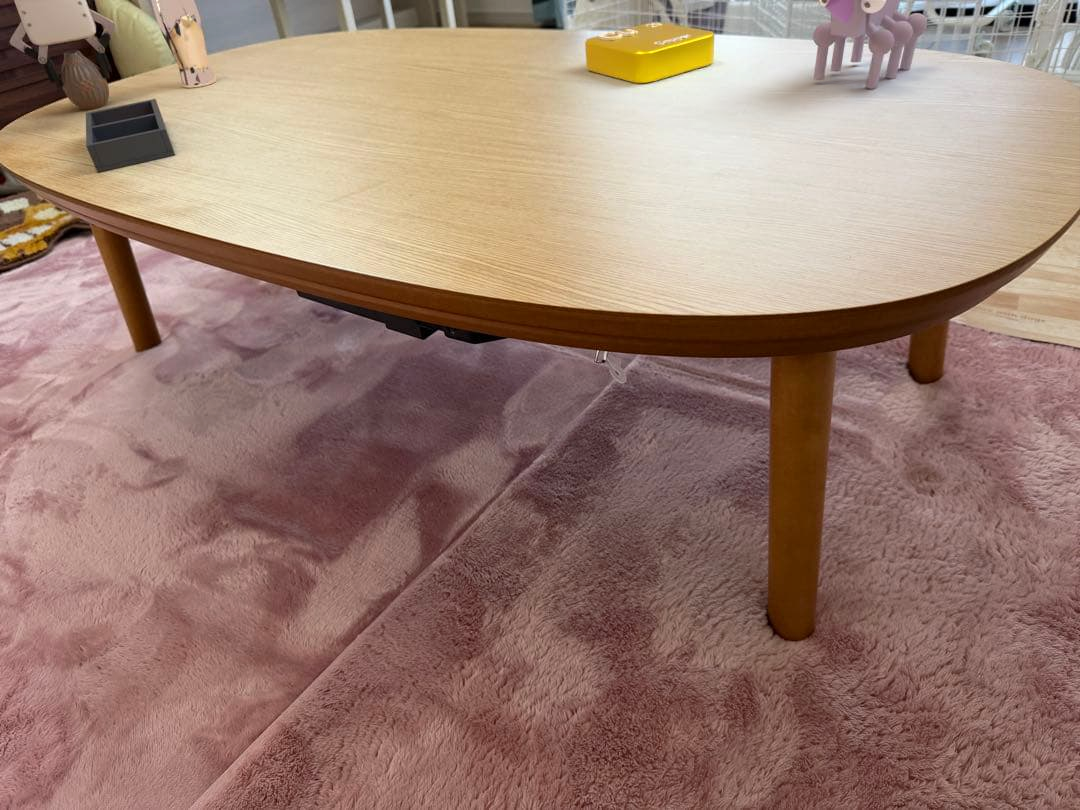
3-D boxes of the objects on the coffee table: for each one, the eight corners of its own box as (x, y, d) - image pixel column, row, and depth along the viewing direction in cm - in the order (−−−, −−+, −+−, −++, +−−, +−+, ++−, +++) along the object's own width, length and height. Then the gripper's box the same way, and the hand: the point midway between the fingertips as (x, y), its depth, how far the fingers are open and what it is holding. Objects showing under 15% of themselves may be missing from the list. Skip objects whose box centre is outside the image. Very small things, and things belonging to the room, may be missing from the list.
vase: (118, 104, 138) (96, 50, 132) (75, 115, 135) (52, 59, 130) (110, 97, 142) (89, 45, 137) (69, 107, 140) (46, 53, 134)
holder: (97, 172, 108) (86, 146, 106) (95, 136, 123) (85, 112, 120) (175, 155, 111) (165, 128, 109) (164, 122, 126) (155, 98, 123)
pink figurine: (852, 109, 99) (867, -14, 90) (774, 98, 105) (783, -17, 97) (924, 68, 109) (944, -45, 101) (850, 60, 116) (863, -47, 108)
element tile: (641, 85, 116) (641, 50, 113) (581, 69, 126) (579, 36, 124) (719, 62, 122) (720, 28, 119) (655, 49, 132) (655, 17, 129)
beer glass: (178, 83, 146) (147, -8, 138) (217, 75, 148) (189, -15, 139) (181, 91, 141) (148, -3, 132) (221, 83, 143) (192, -11, 134)
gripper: (93, -48, 131) (136, 67, 142) (-25, -30, 126) (29, 88, 136) (94, -44, 125) (138, 75, 136) (-30, -25, 120) (27, 97, 131)
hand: (83, 81), depth 136 cm, fingers closed on vase, 6 cm apart
